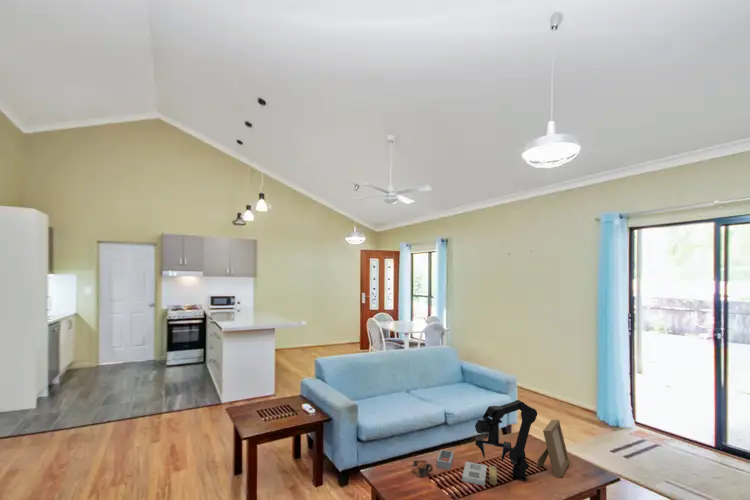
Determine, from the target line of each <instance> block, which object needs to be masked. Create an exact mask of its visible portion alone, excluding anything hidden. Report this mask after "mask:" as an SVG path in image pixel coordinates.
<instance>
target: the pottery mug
mask: <svg viewBox="0 0 750 500" xmlns="http://www.w3.org/2000/svg"><path fill="white" fill-rule="evenodd" d="M413 467H417V470H418V471H416V472H415V475H416V477H418V478H420V477H422V478H426V477H427V475H429V474H430V473H431V472H433V470H434V467H433V465H432V464H431V463H428V462H427V460H425V459H423V460H422V459H420V460H419V459H418V460H413V464H412V468H413Z"/></svg>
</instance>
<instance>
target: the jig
mask: <svg viewBox="0 0 750 500" xmlns="http://www.w3.org/2000/svg"><path fill="white" fill-rule="evenodd" d="M464 463H465V464H464V467H463V470H462V477H461V479H462V480H461V481H462V482H464V483H469V484H475V485H480V486H484V487H485V486H486V479H487V471H488V470H487V468H488V467H487V464H483V463H475V462H471V461H465V462H464Z"/></svg>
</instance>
